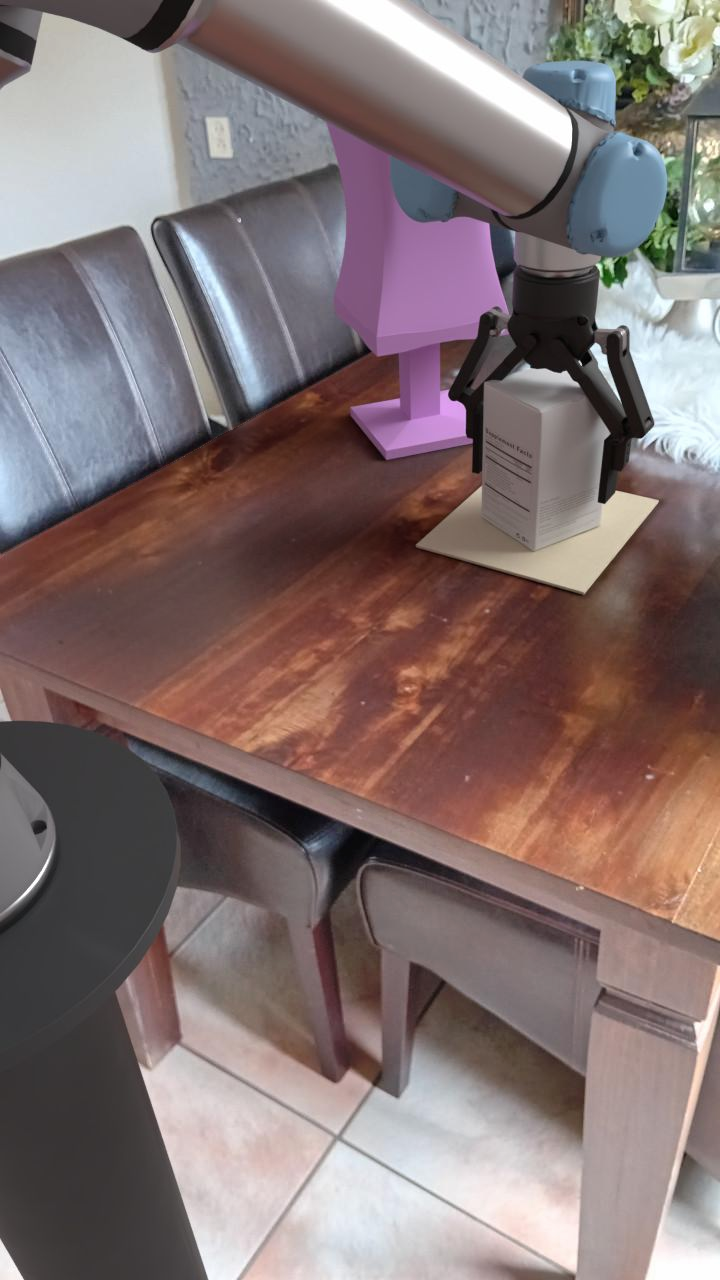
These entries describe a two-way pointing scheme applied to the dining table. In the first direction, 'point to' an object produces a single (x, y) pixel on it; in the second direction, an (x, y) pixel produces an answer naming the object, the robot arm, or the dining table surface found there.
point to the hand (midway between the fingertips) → (541, 482)
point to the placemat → (553, 565)
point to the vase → (409, 299)
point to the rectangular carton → (541, 457)
